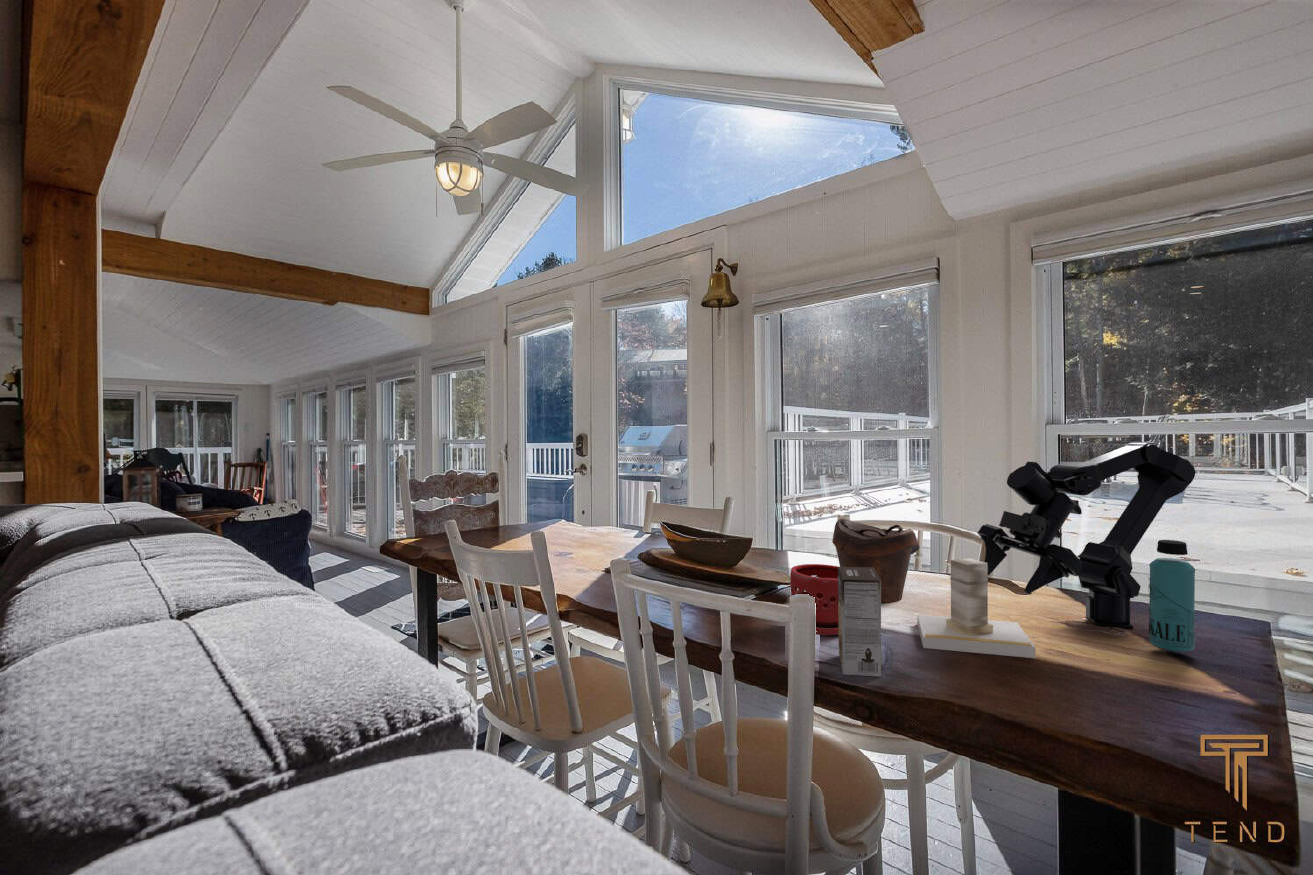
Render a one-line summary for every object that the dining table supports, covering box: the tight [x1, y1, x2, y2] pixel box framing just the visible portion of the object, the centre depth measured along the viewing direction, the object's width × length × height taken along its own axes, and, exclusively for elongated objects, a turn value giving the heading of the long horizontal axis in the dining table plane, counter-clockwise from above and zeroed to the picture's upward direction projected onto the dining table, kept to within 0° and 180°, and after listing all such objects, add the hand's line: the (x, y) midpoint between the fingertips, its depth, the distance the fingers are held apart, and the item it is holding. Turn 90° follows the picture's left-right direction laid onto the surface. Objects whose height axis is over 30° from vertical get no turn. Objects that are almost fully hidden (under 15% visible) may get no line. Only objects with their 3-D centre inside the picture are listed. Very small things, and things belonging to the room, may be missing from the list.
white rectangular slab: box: [916, 614, 1036, 659], centre depth 118 cm, size 18×14×2 cm
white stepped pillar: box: [946, 557, 993, 636], centre depth 117 cm, size 6×6×13 cm
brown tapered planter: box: [831, 518, 921, 603], centre depth 148 cm, size 18×20×18 cm
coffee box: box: [838, 566, 882, 678], centre depth 106 cm, size 9×6×16 cm
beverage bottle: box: [1148, 539, 1197, 652], centre depth 109 cm, size 6×7×20 cm
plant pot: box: [789, 563, 839, 636], centre depth 125 cm, size 13×13×12 cm
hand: (1004, 583), depth 120 cm, fingers open, 9 cm apart
